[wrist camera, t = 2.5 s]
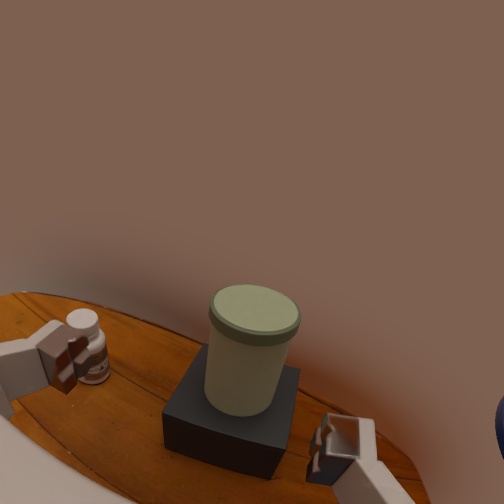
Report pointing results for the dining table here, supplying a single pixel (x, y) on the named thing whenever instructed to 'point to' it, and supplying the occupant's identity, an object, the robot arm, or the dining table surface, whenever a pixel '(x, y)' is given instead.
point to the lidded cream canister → (247, 347)
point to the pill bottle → (91, 344)
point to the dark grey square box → (229, 424)
